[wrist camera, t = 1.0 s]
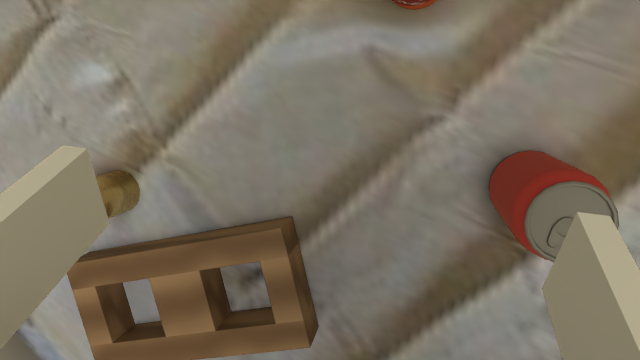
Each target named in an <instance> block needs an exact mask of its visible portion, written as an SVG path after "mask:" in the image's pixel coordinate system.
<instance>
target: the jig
mask: <svg viewBox="0 0 640 360" xmlns="http://www.w3.org/2000/svg"><path fill="white" fill-rule="evenodd" d="M258 261H260V264H261V267H262V271H263V275H264V279H265V283H266V287H267V291H268V295H269V299H270V303H271V307H267V308H260V309H252V310H244V311H236V312H231V310H230V306H229V303H228V299H227V295H226V292H225V288H224V284H223V280H222V277H221V273H220V269H219V267H225V266H232V265H238V264H245V263H251V262H258ZM67 275H68V278H69V281H70V284H71V288H72V291H73V294H74V297H75V300H76V303H77V306H78V309H79V312H80V316H81V319H82V322H83V325H84V328H85V331H86V334H87V337H88V341H89V344H90V347H91V350H92V353H93V356H94V359H95V360H196V359H205V358H215V357H224V356H234V355H244V354H253V353H263V352H273V351H282V350H292V349H301V348H310V347H311V344H312V342H313V339H314V337H315V334H316V332H317V329H318V323H317V318H316V314H315V310H314V306H313V302H312V298H311V293H310V289H309V285H308V281H307V277H306V273H305V268H304V264H303V260H302V256H301V252H300V248H299V243H298V239H297V235H296V231H295V227H294V223H293V218H292V217H286V218H281V219H275V220H269V221H263V222H258V223H252V224H246V225H241V226H235V227H229V228H223V229H218V230H212V231H206V232H201V233H195V234H189V235H184V236H178V237H172V238H166V239H161V240H155V241H149V242H144V243H138V244H132V245H126V246H121V247H115V248H109V249H104V250H98V251H92V252H89V253H87V254H85V255H83V256H81V257H80V258H79V259H78V260H77V262H76V263H75V264H74V265H73V266H72V267H71V269H70V270H69V271H68V272H67ZM147 278H149V281H150V284H151V288H152V291H153V294H154V298H155V301H156V305H157V308H158V311H159V315H160V318H161V321H158V322H150V323H143V324H135V323H134V320H133V317H132V313H131V310H130V307H129V304H128V300H127V297H126V294H125V290H124V287H123V284H122V282H128V281H134V280H141V279H147Z"/></svg>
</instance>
